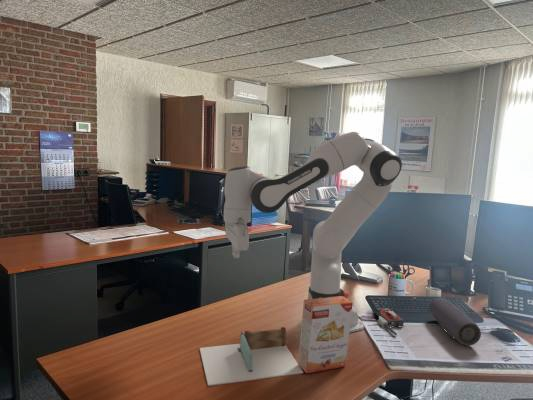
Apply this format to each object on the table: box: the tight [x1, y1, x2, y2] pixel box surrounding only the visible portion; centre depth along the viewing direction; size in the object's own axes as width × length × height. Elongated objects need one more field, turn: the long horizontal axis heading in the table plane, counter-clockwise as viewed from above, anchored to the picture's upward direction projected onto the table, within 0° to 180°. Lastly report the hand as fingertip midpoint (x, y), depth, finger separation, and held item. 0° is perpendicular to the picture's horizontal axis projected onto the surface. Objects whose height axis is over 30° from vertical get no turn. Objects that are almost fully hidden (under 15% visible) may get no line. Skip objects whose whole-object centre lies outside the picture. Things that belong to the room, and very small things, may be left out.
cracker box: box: [297, 296, 353, 375], centre depth 116 cm, size 14×6×21 cm, turn 114°
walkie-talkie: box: [376, 307, 405, 336], centre depth 149 cm, size 9×4×20 cm
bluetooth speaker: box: [428, 296, 482, 346], centre depth 143 cm, size 23×9×10 cm, turn 0°
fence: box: [244, 326, 287, 350], centre depth 127 cm, size 14×2×6 cm, turn 106°
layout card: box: [199, 343, 304, 387], centre depth 119 cm, size 28×20×1 cm
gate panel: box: [239, 331, 252, 371], centre depth 119 cm, size 13×1×6 cm, turn 15°
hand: (236, 256), depth 128 cm, fingers closed
